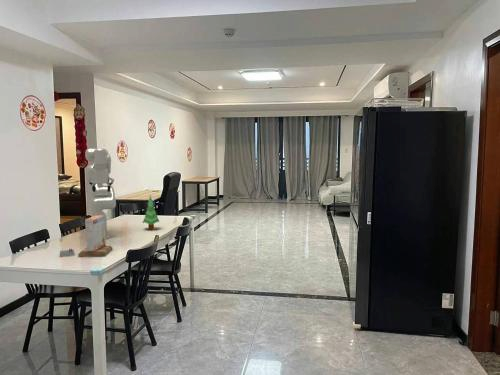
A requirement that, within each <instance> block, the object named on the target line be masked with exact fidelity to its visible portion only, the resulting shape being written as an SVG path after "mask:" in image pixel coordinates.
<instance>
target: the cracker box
mask: <svg viewBox="0 0 500 375" xmlns="http://www.w3.org/2000/svg"><path fill="white" fill-rule="evenodd" d="M84 224H85V225H84V226H85V237H86V238H85V239H86V240H85V242H86V248H87V251H97V250H99V249H100V248H102V247H104V246H107V244H106V239H105V226H104V215H96V216H93V215H92V216H91V217H88V218H85V219H84Z"/></svg>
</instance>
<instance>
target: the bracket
mask: <svg viewBox="0 0 500 375" xmlns="http://www.w3.org/2000/svg"><path fill="white" fill-rule="evenodd" d="M74 256H75V249H73V248H69V249H68V250H67V249H65V250H60V251H59V258H64V257H74Z"/></svg>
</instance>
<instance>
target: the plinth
mask: <svg viewBox="0 0 500 375" xmlns="http://www.w3.org/2000/svg"><path fill="white" fill-rule="evenodd" d="M112 251H113V246H111V245H106V246H104V247H102V248H100V249H99V250H97V251H87V247H86V248H84V249H82V250H80V251H79V253H78V255H77V256H78V258H94V257H95V258H97V257H99V258H103V257H106V256H107V255H109V253H111V252H112Z"/></svg>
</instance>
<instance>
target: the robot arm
mask: <svg viewBox="0 0 500 375" xmlns="http://www.w3.org/2000/svg"><path fill="white" fill-rule="evenodd" d="M84 153H85V154H84V155H85V160H87V161H88V162H91V163H92V164H90V165H87V166H86V170H85V172H86V176H87V179H88V180H87V182H88V183H89V185H90V187H91V195H92V197H93V198H91V200H90V206H91V207H90V208H91V211H92V214H91V215H92V217H93V216H96V215H104V226H105V240H108V239H109V238H110V235H108V227H107V226H108V224H107V222H108V221H107V214H106V213H105V212H104V211H103V210H113V209H115V208H116V206H117V202H116V194H115V189H114V187H113V184H114V181H115V179H114V178H112V177H110V174H111V171H112V170H111V169H112V157H111V155H110V153H108V150H107V149H106V148H87V149H86V150H85V152H84ZM104 184H106V185H104Z"/></svg>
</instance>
